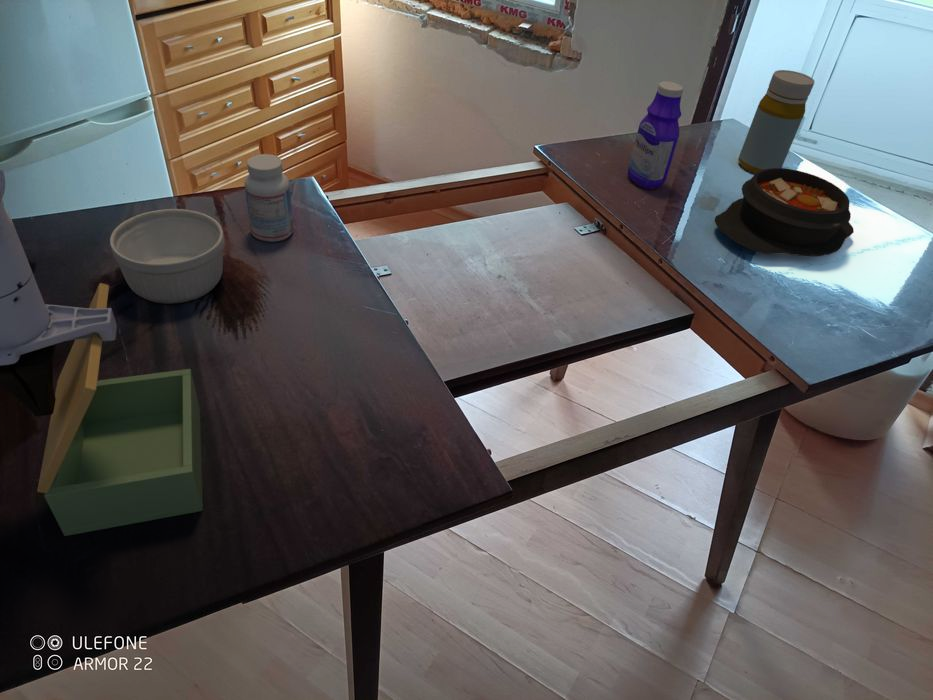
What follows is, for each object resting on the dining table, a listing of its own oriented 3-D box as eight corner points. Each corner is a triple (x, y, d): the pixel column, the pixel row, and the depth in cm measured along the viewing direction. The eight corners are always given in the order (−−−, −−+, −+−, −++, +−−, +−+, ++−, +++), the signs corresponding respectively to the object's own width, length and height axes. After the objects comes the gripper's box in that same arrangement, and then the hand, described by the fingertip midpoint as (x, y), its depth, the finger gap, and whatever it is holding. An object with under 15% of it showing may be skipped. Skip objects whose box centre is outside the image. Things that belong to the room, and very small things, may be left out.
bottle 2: (728, 163, 134) (762, 73, 122) (751, 154, 138) (785, 66, 127) (764, 180, 129) (802, 88, 118) (787, 171, 134) (826, 81, 122)
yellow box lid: (109, 285, 61) (99, 282, 61) (96, 390, 51) (84, 387, 51) (66, 382, 66) (57, 380, 66) (47, 493, 57) (36, 492, 56)
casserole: (767, 279, 103) (789, 231, 98) (686, 218, 115) (702, 172, 110) (875, 250, 113) (901, 205, 107) (790, 197, 125) (810, 154, 120)
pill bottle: (266, 217, 103) (258, 147, 96) (301, 228, 102) (296, 158, 95) (242, 236, 99) (231, 164, 92) (278, 247, 98) (271, 175, 90)
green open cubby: (199, 408, 73) (190, 368, 70) (202, 510, 64) (192, 471, 60) (80, 425, 70) (63, 384, 66) (64, 536, 61) (43, 496, 57)
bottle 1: (619, 175, 125) (644, 79, 114) (643, 170, 128) (670, 76, 116) (645, 193, 121) (673, 95, 109) (669, 188, 123) (699, 92, 112)
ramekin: (242, 257, 95) (235, 213, 91) (213, 315, 85) (204, 269, 81) (145, 248, 95) (133, 203, 90) (104, 306, 85) (89, 259, 80)
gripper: (-149, 325, 46) (-64, 456, 55) (91, 301, 50) (134, 427, 59) (-117, 265, 51) (-44, 395, 59) (99, 248, 55) (137, 372, 64)
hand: (45, 407), depth 59 cm, fingers closed
